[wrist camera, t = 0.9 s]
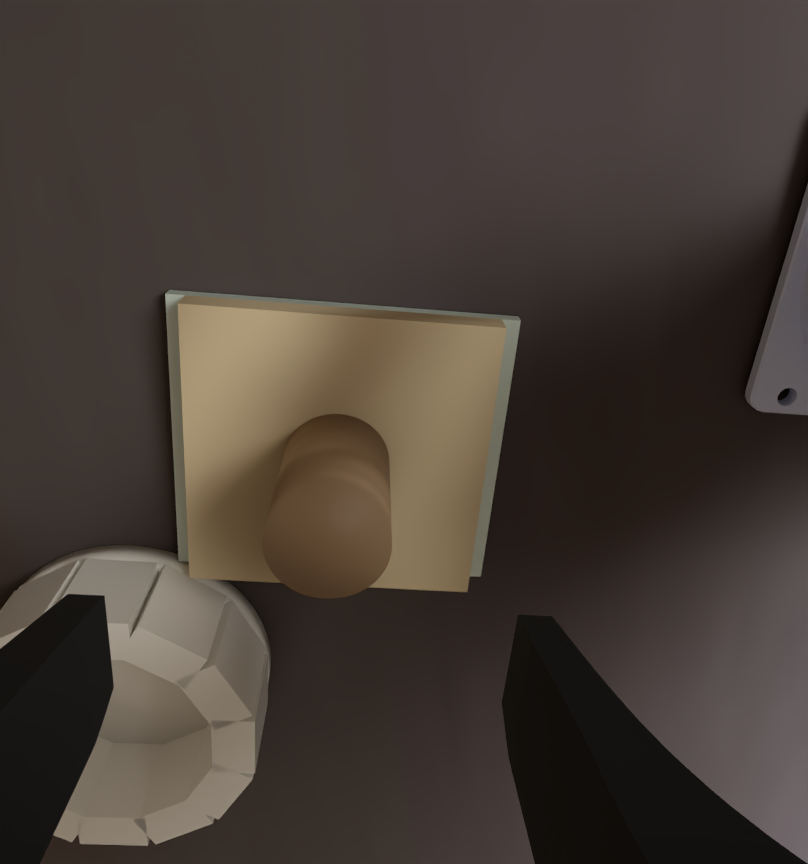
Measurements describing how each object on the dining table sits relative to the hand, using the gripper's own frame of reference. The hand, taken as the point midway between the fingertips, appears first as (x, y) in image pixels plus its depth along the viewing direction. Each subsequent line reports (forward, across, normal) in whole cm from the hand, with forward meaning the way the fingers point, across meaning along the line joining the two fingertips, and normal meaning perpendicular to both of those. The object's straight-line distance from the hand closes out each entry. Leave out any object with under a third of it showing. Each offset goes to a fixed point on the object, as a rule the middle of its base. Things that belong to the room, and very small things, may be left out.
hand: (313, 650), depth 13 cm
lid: (+8, 0, 0) cm, 8 cm away
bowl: (+8, +6, +8) cm, 13 cm away
